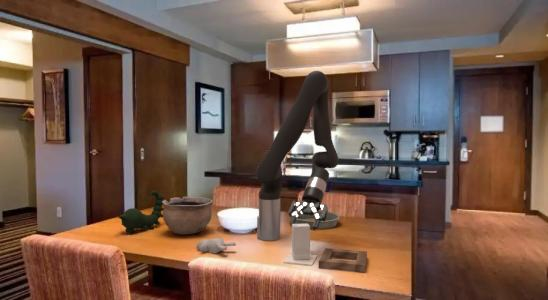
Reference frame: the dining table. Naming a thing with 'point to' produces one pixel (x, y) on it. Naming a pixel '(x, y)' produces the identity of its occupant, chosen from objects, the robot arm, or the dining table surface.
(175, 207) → the ceramic bowl
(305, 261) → the ceramic tile
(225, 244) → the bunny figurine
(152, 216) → the toy figurine
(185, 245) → the dining table surface
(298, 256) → the skincare box
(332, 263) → the frame
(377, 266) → the dining table surface
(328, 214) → the cake pan
